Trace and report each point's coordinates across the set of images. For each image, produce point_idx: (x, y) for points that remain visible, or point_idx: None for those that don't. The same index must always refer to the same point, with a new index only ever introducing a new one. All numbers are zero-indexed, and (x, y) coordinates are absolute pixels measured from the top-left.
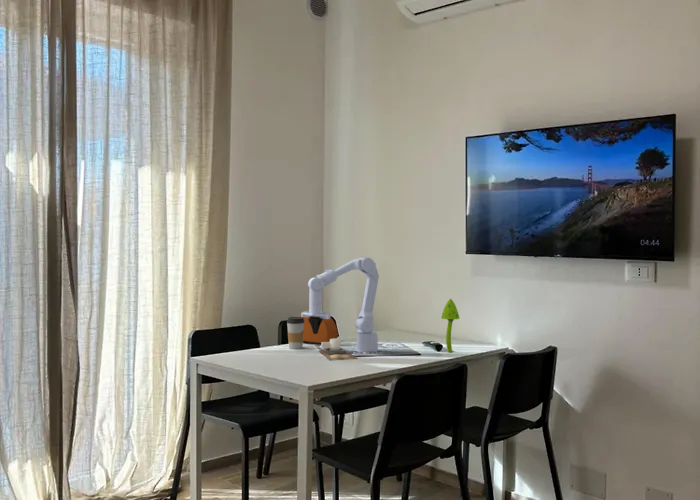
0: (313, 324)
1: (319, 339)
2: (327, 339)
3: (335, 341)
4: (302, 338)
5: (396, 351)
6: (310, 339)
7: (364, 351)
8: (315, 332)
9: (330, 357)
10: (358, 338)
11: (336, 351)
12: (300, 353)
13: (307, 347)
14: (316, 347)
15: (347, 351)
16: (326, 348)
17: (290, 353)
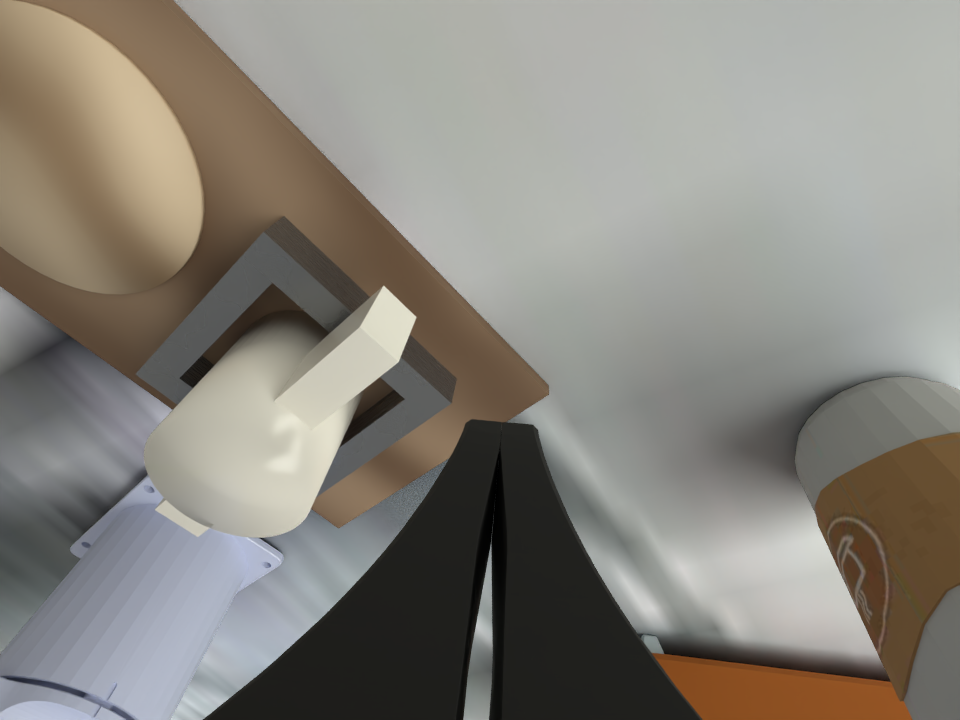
0: (504, 624)
1: (690, 686)
2: None
3: (175, 409)
4: (844, 548)
5: (19, 599)
6: (794, 690)
7: (131, 507)
8: (462, 437)
9: (116, 42)
10: (110, 622)
11: (201, 302)
12: (728, 225)
13: (760, 542)
14: (668, 563)
15: None
16: (410, 396)
17: (887, 159)
